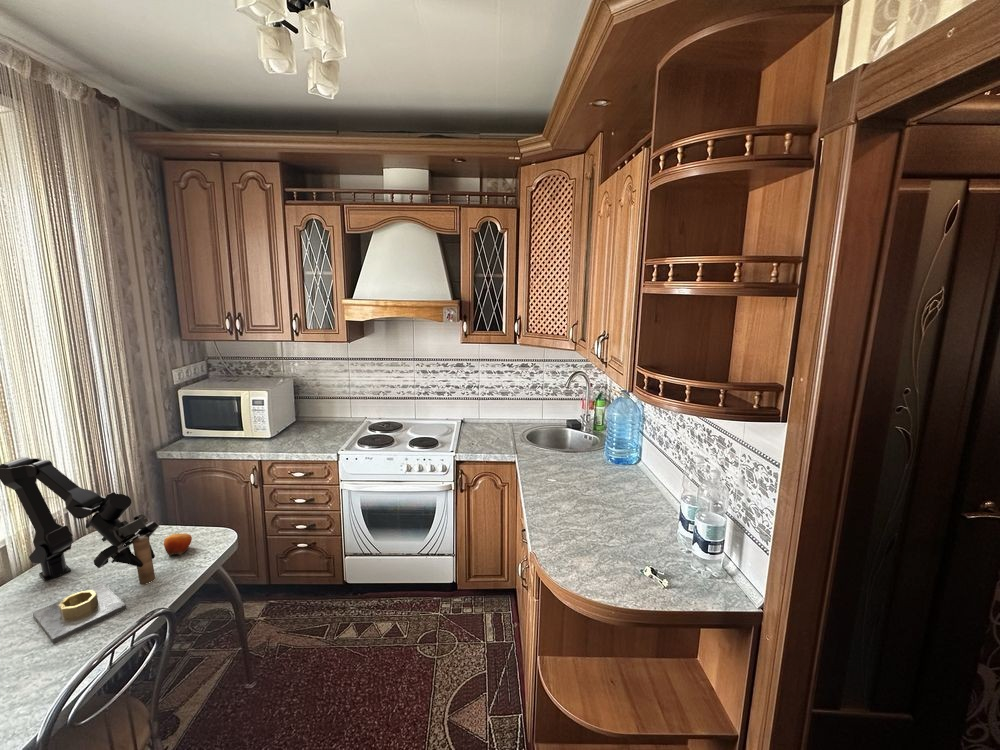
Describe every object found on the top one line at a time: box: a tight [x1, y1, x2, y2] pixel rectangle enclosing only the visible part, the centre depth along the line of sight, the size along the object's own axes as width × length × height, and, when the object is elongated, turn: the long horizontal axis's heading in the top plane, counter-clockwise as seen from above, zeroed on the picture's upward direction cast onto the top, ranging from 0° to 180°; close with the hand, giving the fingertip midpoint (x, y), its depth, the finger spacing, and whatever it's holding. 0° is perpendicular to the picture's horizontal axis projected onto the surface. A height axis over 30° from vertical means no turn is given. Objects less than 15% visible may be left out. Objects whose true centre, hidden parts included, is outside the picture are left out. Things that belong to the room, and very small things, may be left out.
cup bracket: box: [32, 582, 127, 645], centre depth 135 cm, size 18×16×4 cm
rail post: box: [132, 537, 156, 585], centre depth 149 cm, size 4×4×14 cm
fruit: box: [163, 532, 193, 557], centre depth 165 cm, size 8×8×8 cm
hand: (148, 561), depth 149 cm, fingers closed on rail post, 4 cm apart
